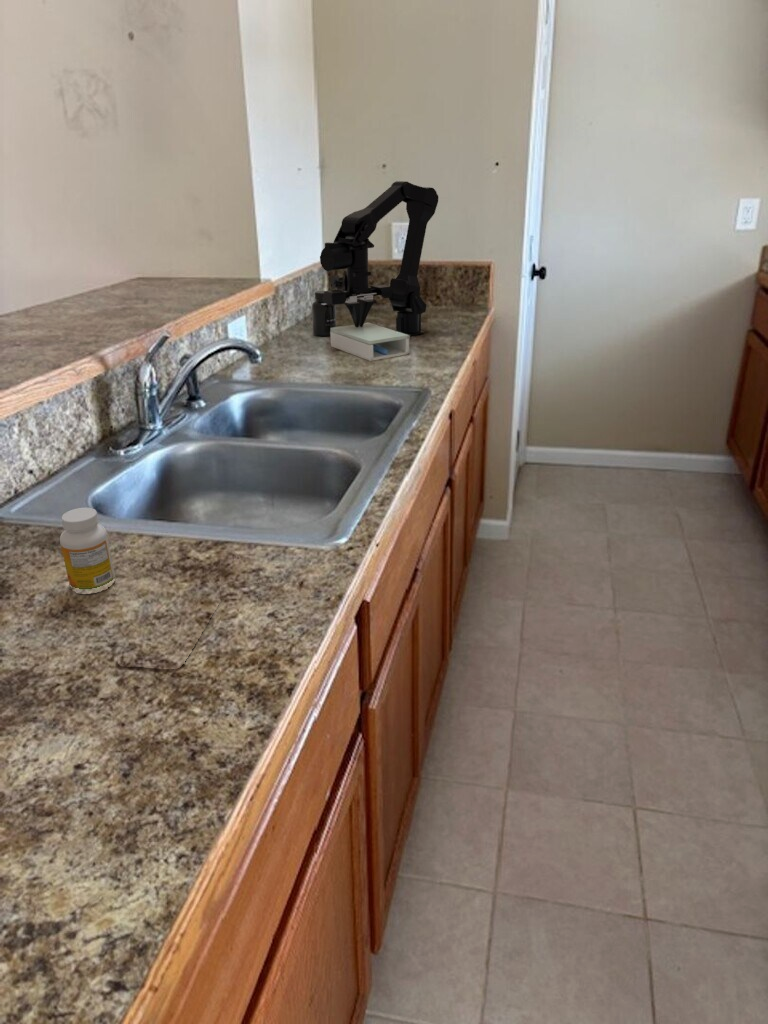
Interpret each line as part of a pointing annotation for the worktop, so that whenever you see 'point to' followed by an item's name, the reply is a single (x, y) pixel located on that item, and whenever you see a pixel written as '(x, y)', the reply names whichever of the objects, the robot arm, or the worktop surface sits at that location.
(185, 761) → the worktop surface
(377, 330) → the duct cover
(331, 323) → the supplement bottle
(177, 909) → the worktop surface
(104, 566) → the supplement bottle
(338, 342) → the cable duct
